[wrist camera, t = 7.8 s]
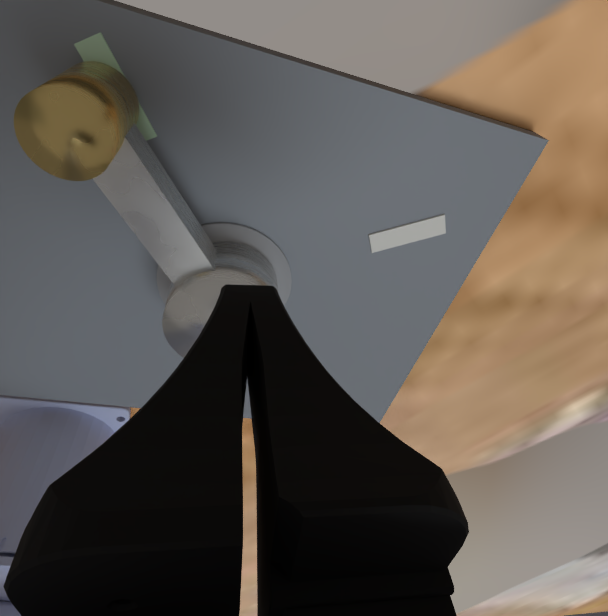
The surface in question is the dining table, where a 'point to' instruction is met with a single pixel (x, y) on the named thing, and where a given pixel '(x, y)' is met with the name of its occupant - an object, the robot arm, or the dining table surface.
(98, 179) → the lever
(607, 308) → the dining table surface
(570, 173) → the dining table surface
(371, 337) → the stand base
